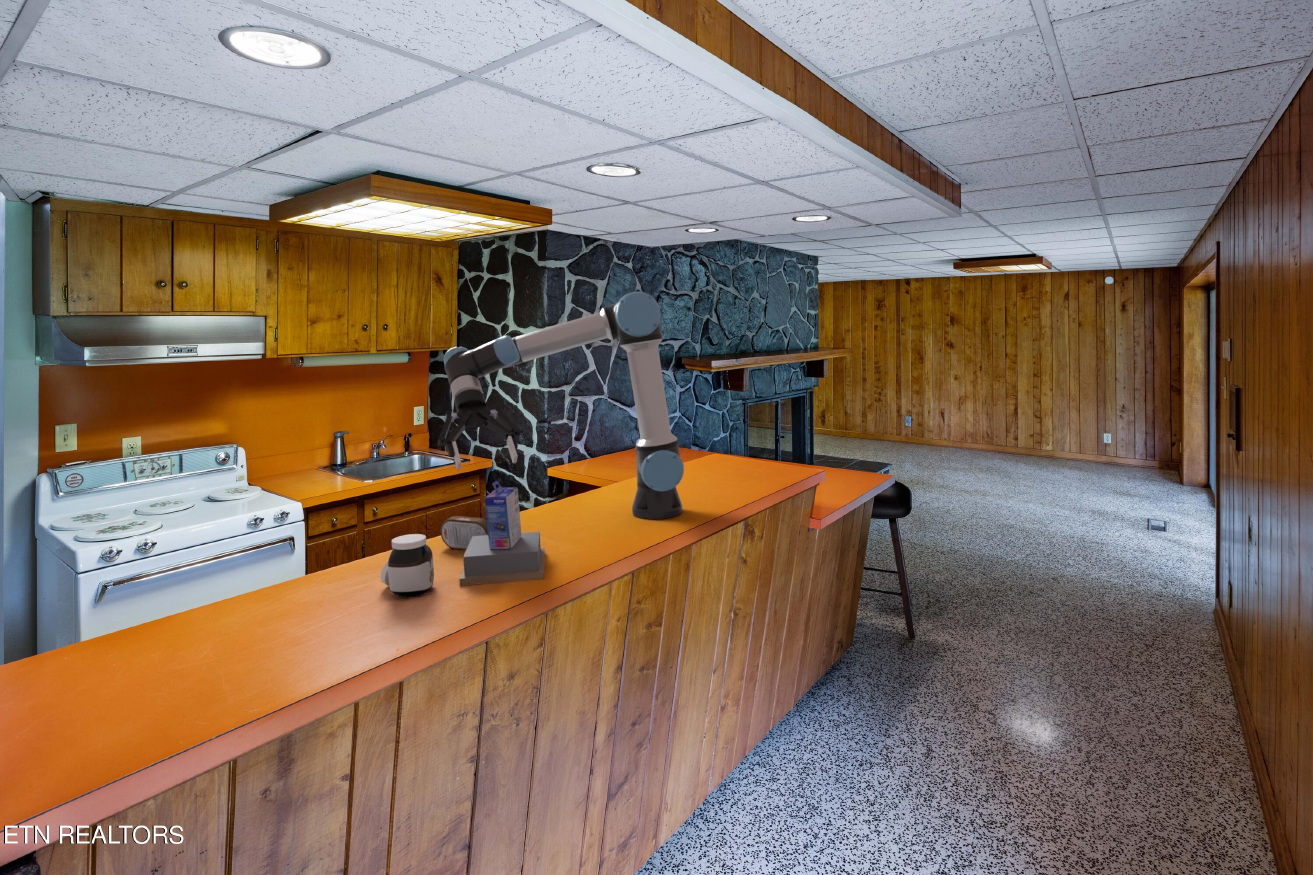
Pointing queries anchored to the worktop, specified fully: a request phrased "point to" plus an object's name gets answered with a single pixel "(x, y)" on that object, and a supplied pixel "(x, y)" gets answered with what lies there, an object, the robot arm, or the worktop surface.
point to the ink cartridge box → (503, 517)
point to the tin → (462, 531)
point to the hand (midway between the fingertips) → (487, 463)
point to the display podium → (503, 561)
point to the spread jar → (409, 566)
